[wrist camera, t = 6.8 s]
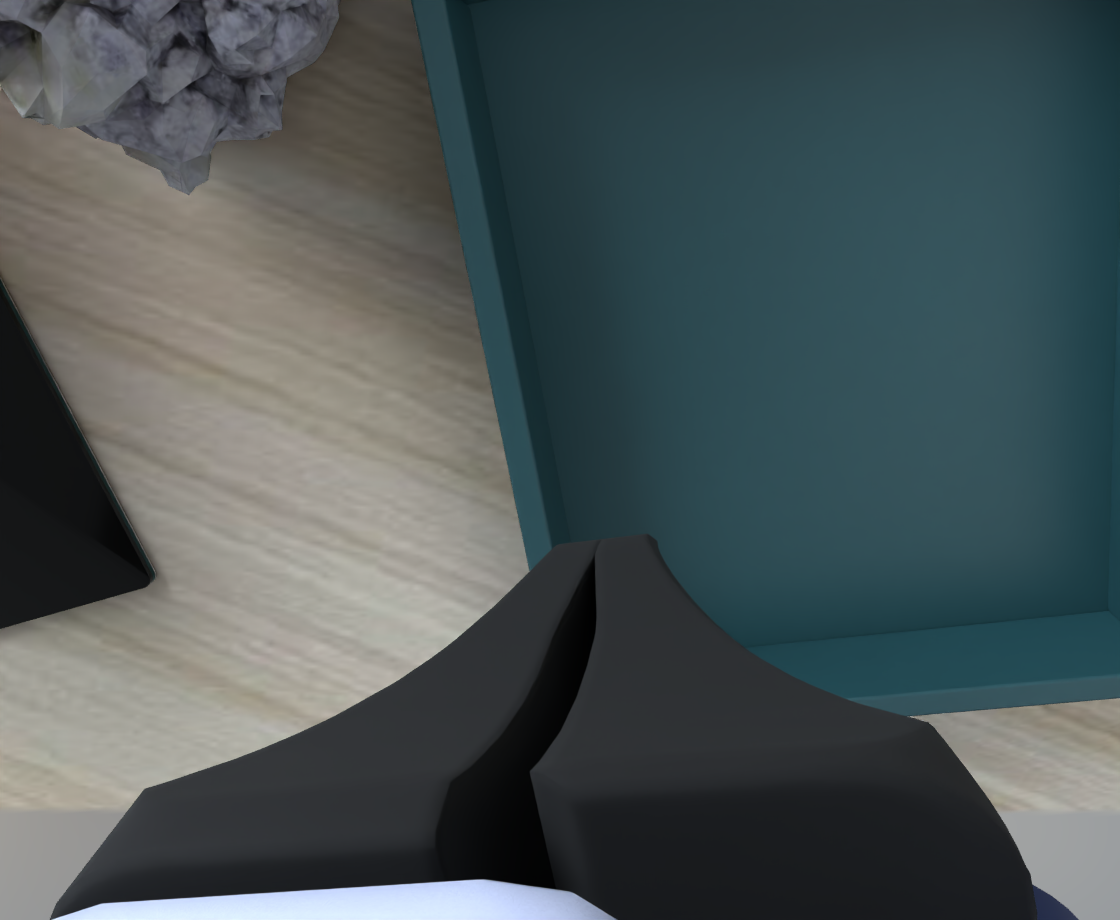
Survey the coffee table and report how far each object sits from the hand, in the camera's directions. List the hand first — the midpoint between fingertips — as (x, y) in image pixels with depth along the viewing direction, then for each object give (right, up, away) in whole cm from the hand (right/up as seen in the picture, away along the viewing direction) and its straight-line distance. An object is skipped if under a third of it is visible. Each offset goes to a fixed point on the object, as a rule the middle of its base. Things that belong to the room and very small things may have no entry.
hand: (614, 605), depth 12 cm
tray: (+5, +5, +7) cm, 10 cm away
